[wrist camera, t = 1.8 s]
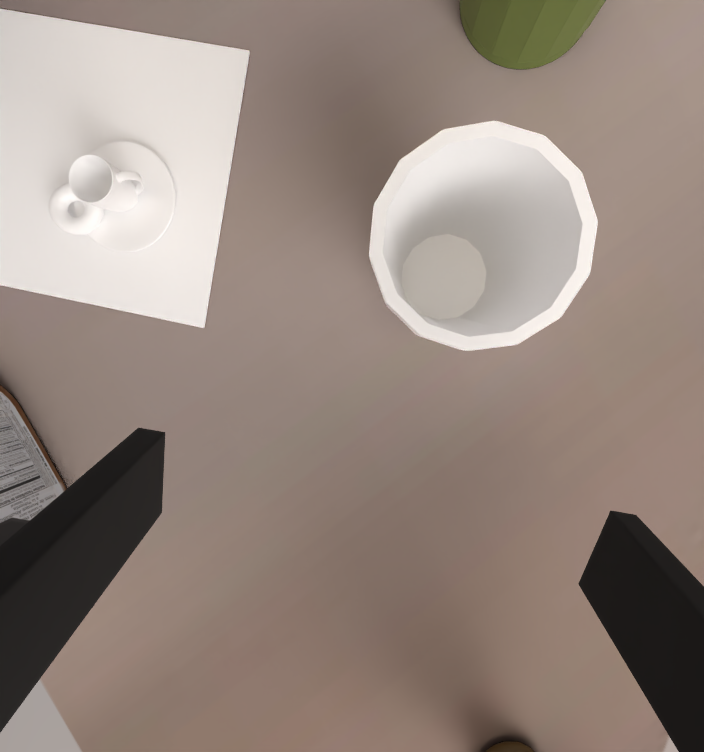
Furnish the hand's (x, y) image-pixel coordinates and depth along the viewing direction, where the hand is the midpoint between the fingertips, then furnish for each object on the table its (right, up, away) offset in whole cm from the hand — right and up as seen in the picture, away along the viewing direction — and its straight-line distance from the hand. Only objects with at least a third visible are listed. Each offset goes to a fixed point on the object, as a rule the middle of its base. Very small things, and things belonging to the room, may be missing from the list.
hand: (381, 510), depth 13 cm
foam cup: (+6, +11, +19) cm, 22 cm away
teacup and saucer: (-20, +19, +20) cm, 34 cm away
